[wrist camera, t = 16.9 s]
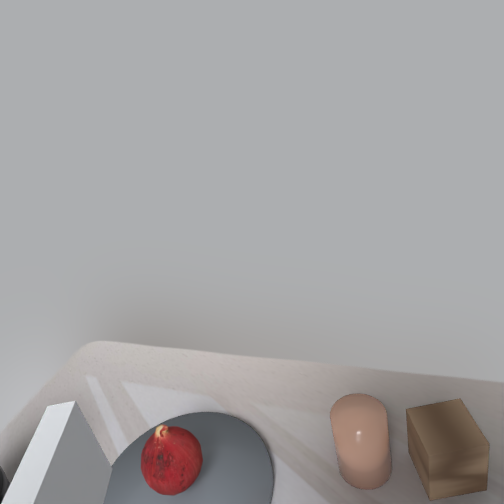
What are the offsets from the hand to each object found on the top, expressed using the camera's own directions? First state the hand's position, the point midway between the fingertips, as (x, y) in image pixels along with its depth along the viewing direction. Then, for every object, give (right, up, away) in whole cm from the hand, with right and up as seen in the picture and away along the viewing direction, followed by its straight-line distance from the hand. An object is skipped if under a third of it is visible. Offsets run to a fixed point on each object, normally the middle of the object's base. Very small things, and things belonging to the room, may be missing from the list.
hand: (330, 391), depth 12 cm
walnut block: (+16, -17, +30) cm, 38 cm away
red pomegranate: (-9, -20, +33) cm, 39 cm away
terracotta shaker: (+9, -17, +32) cm, 37 cm away
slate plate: (-9, -20, +33) cm, 40 cm away
